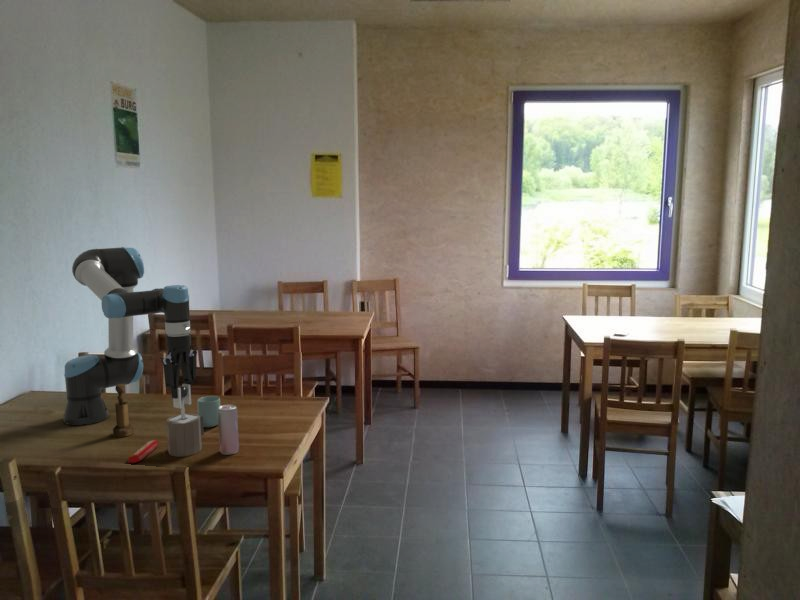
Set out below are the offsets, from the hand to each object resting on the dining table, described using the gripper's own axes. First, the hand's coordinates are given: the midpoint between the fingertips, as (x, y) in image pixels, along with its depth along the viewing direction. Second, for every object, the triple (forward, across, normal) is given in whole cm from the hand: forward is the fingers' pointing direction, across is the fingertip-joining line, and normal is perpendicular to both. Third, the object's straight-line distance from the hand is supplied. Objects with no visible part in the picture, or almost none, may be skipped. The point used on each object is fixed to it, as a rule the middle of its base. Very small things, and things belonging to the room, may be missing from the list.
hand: (182, 405), depth 204 cm
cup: (+15, +22, +9) cm, 28 cm away
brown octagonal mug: (+15, +2, 0) cm, 15 cm away
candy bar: (+16, -8, +10) cm, 20 cm away
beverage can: (+15, +5, -14) cm, 21 cm away
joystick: (+13, 0, 0) cm, 13 cm away
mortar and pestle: (+15, +3, +31) cm, 35 cm away
